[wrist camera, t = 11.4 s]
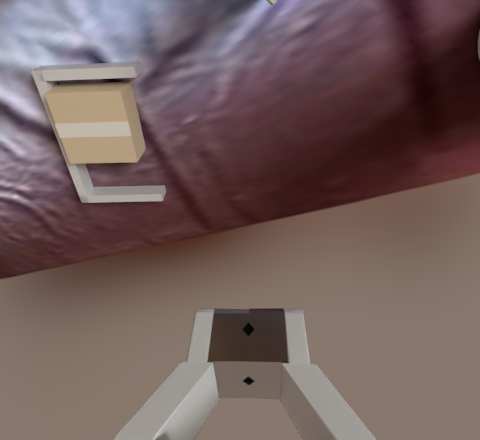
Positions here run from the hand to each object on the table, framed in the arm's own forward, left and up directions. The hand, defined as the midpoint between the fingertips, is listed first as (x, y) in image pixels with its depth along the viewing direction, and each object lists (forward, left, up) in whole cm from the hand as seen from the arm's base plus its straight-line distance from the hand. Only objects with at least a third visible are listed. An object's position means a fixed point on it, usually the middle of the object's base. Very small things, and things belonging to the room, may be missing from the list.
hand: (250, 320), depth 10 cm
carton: (+19, +7, -38) cm, 43 cm away
